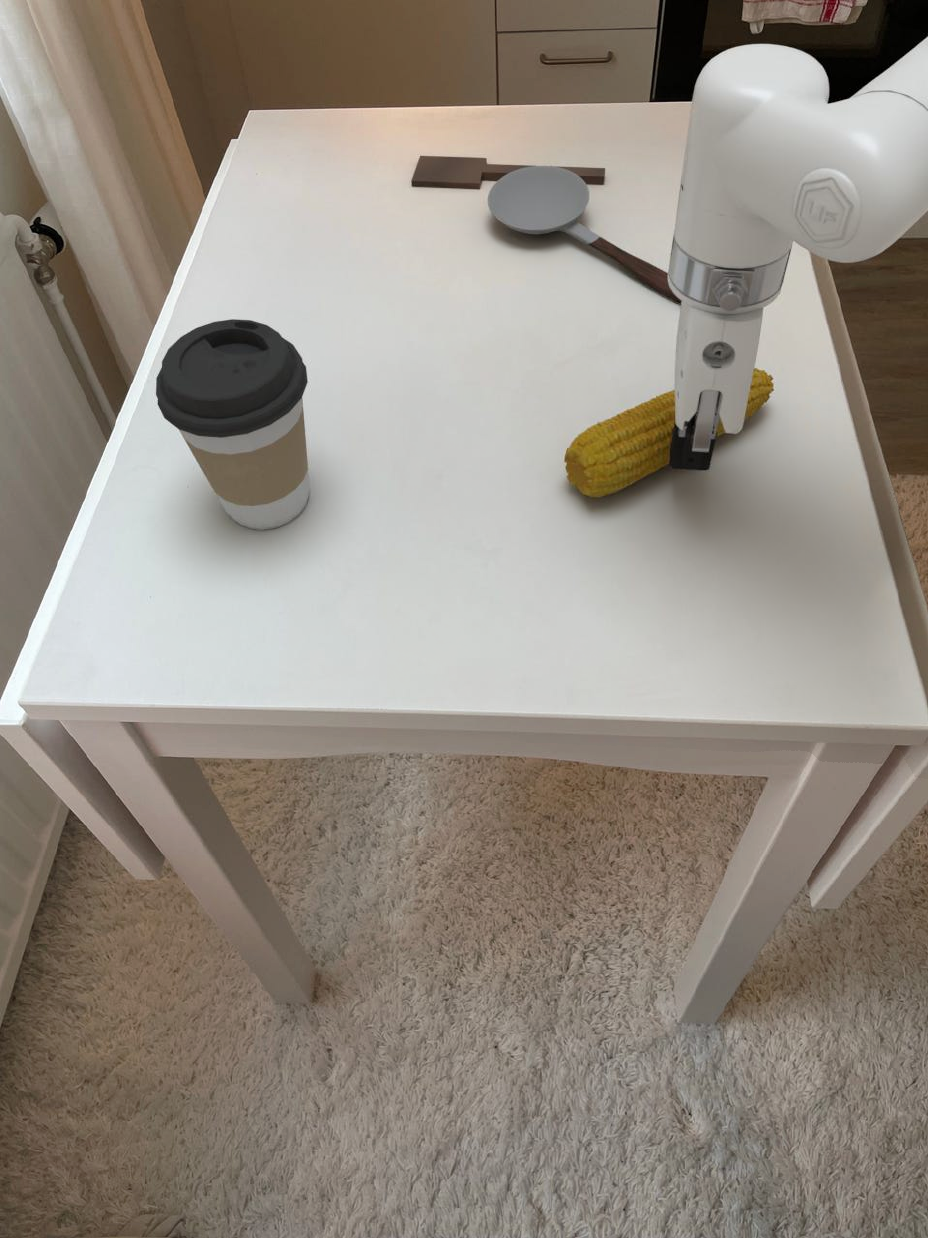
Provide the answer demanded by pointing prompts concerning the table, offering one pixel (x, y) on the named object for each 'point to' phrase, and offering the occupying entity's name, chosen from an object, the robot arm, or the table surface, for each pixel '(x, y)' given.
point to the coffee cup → (241, 417)
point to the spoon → (560, 214)
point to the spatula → (478, 172)
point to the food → (637, 442)
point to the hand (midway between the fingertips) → (688, 462)
